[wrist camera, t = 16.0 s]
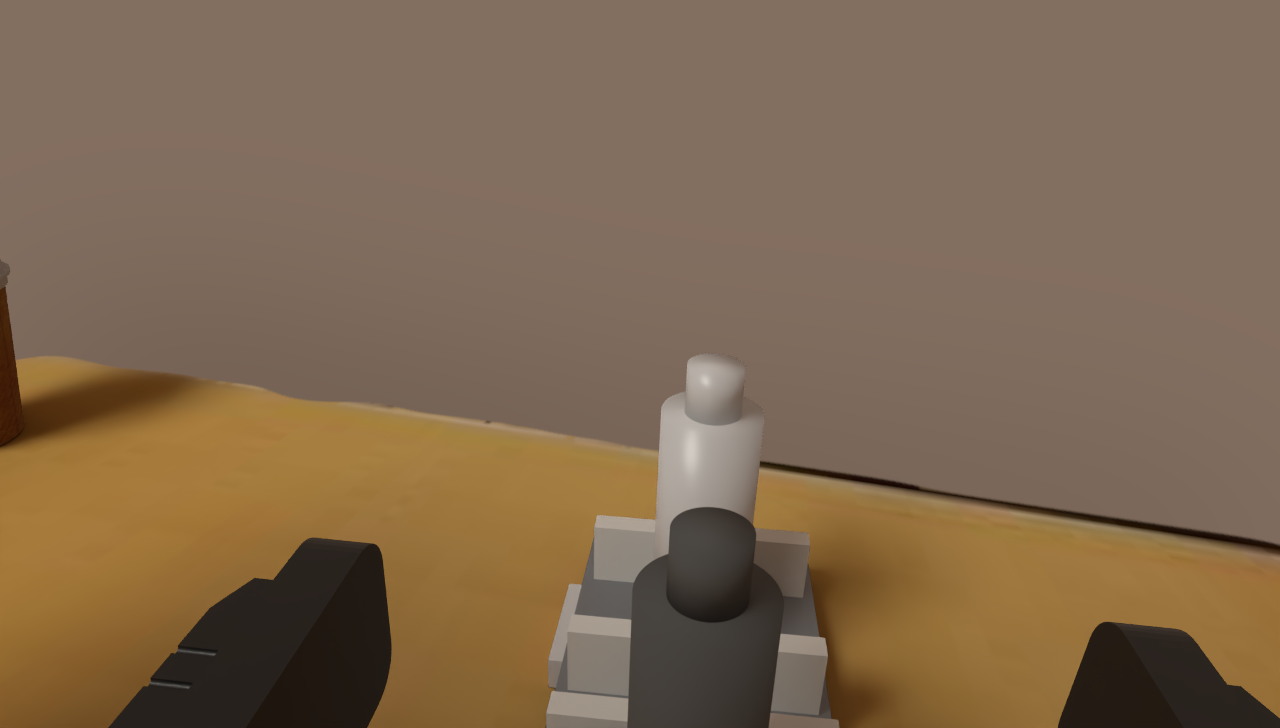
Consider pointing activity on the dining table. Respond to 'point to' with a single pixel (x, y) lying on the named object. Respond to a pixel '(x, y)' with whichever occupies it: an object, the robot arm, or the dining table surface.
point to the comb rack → (601, 631)
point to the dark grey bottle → (704, 629)
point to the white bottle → (708, 445)
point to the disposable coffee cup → (8, 370)
